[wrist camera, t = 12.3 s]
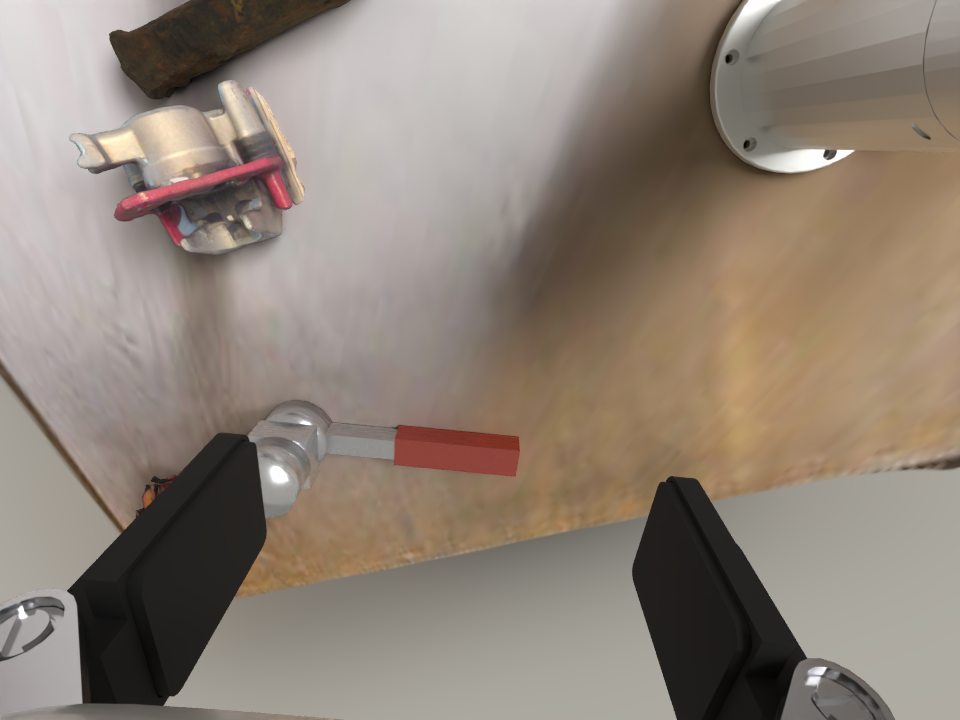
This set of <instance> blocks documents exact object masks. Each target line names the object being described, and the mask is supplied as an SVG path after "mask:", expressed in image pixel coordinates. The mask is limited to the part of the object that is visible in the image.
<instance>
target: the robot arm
mask: <svg viewBox="0 0 960 720" xmlns="http://www.w3.org/2000/svg"><path fill="white" fill-rule="evenodd" d="M726 55H728V56H729V58H730V60H729V62H728V63H727V64H726V62H725V56H726ZM710 105H711V110H712V114H713V118H714V123H715V125H716V127H717V129H718V132H719V134H720V136H721V138H722V140H723V141H724V142H725V144H726V145H727V146H728V147H729V149H730V150H731V151H732V152H733V153H734V154H735V155H736V156H738V157H739V158H740V159H741V160H743V161H744V162H745V163H748V164H750V165H752V166H754V167H756V168H758V169H762V170H766V171H771V172H777V173H789V174H790V173H801V172H809V171H813V170H816V169H820V168H823V167H827V166H829V165H831V164H833V163H835V162H837V161H839V160H841V159H844V158H845V157H847V156H848V155H850V154H851V153H853V152H854V151H856V150H862V151H901V152H941V153H960V0H743V1H742V2H741V4H740V5H739V7H738V8H737V10H736V11H735V13H734V14H733V16H732V17H731V19H730V20H729V22H728V24H727V26H726V29H725V31H724V33H723V35H722V37H721V39H720V41H719V44H718V47H717V51H716V54H715V57H714V61H713V64H712V72H711V79H710ZM745 141H746V142H747V146H746V147H745V148H743V144H744V142H745ZM824 151H825V154H824V155H823V153H824ZM266 533H267V531H266V521H265V513H264V504H263V496H262V487H261V479H260V471H259V462H258V454H257V447H256V444H255V443H254V442H250V440H249V438H248V436H246V435H241V434H231V433H218V434H217V435H216V436H215V437H214V438H213V439H212V440H211V441H210V442H209V443H208V444H207V445H206V446H205V447H204V448H203V450H202V451H201V452H200V453H199V454H198V455H197V456H196V457H195V458H194V459H193V460H192V461H191V462H190V463H189V464H188V465H187V466H186V467H185V469H184V470H183V471H182V472H181V473H180V474H179V475H178V476H177V477H176V478H175V479H174V480H173V481H172V482H171V483H170V484H169V485H168V487H167V488H166V489H165V490H164V491H162V492H161V493H160V494H159V495H158V496H157V497H156V498H155V499H154V500H153V501H152V502H151V503H150V504H149V505H148V506H147V507H146V508H145V509H144V510H143V511H142V513H141V514H140V515H139V516H138V517H137V518H136V519H135V520H134V521H133V522H132V523H131V524H130V525H129V526H128V527H127V528H126V529H125V530H124V531H123V533H122V534H121V535H120V536H119V537H118V538H117V539H116V540H115V541H114V542H113V543H112V544H111V545H110V546H109V547H108V548H107V549H106V550H105V551H104V553H103V554H102V555H101V556H100V557H99V558H98V559H97V560H96V561H95V562H94V563H93V564H92V565H91V566H90V567H89V568H88V569H87V570H86V572H85V573H84V574H83V575H82V576H81V577H80V578H79V579H78V580H77V581H76V582H75V583H74V584H73V585H72V586H71V587H70V588H69V589H68V590H67V591H65V590H59V589H42V590H36V591H32V592H29V593H25V594H21V595H18V596H16V597H14V598H12V599H9V600H7V601H5V602H3V603H1V604H0V720H340V719H326V718H315V717H302V716H291V715H279V714H265V713H254V712H242V711H230V710H217V709H201V708H186V707H170V706H164V704H165V702H166V701H167V699H168V697H169V696H175V695H176V694H178V693H179V692H180V690H181V689H182V687H183V686H184V684H185V682H186V680H187V679H188V677H189V675H190V673H191V671H192V670H193V668H194V666H195V664H196V663H197V661H198V659H199V657H200V656H201V654H202V652H203V651H204V649H205V647H206V645H207V644H208V642H209V640H210V638H211V636H212V635H213V633H214V631H215V629H216V628H217V626H218V624H219V623H220V621H221V619H222V617H223V616H224V614H225V612H226V610H227V608H228V607H229V605H230V603H231V602H232V600H233V598H234V596H235V595H236V593H237V591H238V589H239V587H240V586H241V584H242V582H243V580H244V579H245V577H246V575H247V573H248V572H249V570H250V568H251V566H252V565H253V563H254V561H255V559H256V558H257V556H258V554H259V552H260V551H261V549H262V547H263V545H264V542H265V539H266ZM632 576H633V581H634V585H635V588H636V591H637V594H638V597H639V601H640V604H641V607H642V610H643V613H644V616H645V619H646V623H647V626H648V629H649V632H650V635H651V638H652V642H653V645H654V648H655V651H656V654H657V658H658V661H659V664H660V667H661V670H662V673H663V677H664V680H665V683H666V686H667V689H668V692H669V696H670V699H671V702H672V705H673V708H674V711H675V715H676V718H677V720H895V718H894V716H893V714H892V712H891V711H890V709H889V707H888V706H887V705H886V703H885V702H884V701H883V699H882V698H881V697H880V696H879V694H877V692H876V691H874V690H873V689H872V688H871V687H870V686H869V685H868V684H867V683H866V682H865V681H864V680H862V679H861V678H860V677H858V676H857V675H855V674H854V673H853V672H851V671H850V670H848V669H846V668H844V667H842V666H840V665H838V664H836V663H834V662H831V661H827V660H824V659H820V658H818V659H817V658H815V659H814V658H808V659H807V657H806V656H805V654H804V652H803V651H802V649H801V647H800V646H799V644H798V642H797V641H796V639H795V638H794V636H793V634H792V632H791V631H790V629H789V627H788V626H787V624H786V623H785V621H784V619H783V618H782V616H781V614H780V613H779V611H778V610H777V608H776V606H775V604H774V603H773V601H772V599H771V598H770V596H769V595H768V593H767V591H766V589H765V588H764V586H763V584H762V583H761V581H760V580H759V578H758V576H757V575H756V573H755V571H754V570H753V568H752V566H751V565H750V563H749V561H748V560H747V558H746V556H745V555H744V553H743V551H742V550H741V549H740V547H739V546H738V545H737V544H736V543H735V541H734V539H733V538H732V536H731V534H730V533H729V531H728V530H727V528H726V526H725V525H724V523H723V521H722V520H721V518H720V516H719V515H718V513H717V511H716V510H715V508H714V506H713V505H712V503H711V501H710V500H709V498H708V496H707V495H706V493H705V491H704V490H703V488H702V486H701V485H700V483H699V482H698V480H696V479H694V478H684V477H674V476H671V477H669V478H668V479H667V480H666V482H660V484H659V485H658V488H657V491H656V494H655V497H654V501H653V504H652V507H651V510H650V513H649V516H648V520H647V523H646V526H645V529H644V532H643V535H642V538H641V541H640V545H639V547H638V551H637V554H636V557H635V560H634V563H633V568H632Z"/></svg>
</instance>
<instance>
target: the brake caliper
mask: <svg viewBox="0 0 960 720" xmlns="http://www.w3.org/2000/svg"><path fill="white" fill-rule="evenodd" d="M218 91H219V95H220V99H221V103H222V106H223V108H221V109H214V110H210V111H207V112H202V111H199V110H197V109H195V108H193V107H189V106H184V105H175V106H168V107H161V108H157V109H153V110H150V111H147V112H143V113H140V114H137V115H135V116H133V117H132V118H130V119H129V120H127V121H126V122H125V123H124V124H123V125H122V126H121V127H120V128H119V129H116V130H112V131H106V132H100V133H97V134H93V135H88V134H82V133H78V134H71V135H70V136H69V139H70V141H71V142H74V143H75V144H76V145H77V147H78V149H79V150H80V152H81V154H80V157H79V158H78V160H77V164H78V165H79V166H80V167H81V168H84V169H88V170H89V171H90V172H91V173H94V174H99V173H101V172H103V171H107V170H110V169H114V168H117V167H119V166H122V165H123V167H124V169H125V170H126V172H127V175H128V178H129V180H130V183H131V185H132V186H133V188H134V189H135V190H136V192H137V193H136V194H134V195H132V196H130V197H127V198H125V199H123V200H122V201H121V202H120V203H119V204H118V205H117V208H116V211H115V214H114V217H115V218H116V219H117V220H119V221H131V220H133V219H135V218H138V217H142V216H144V215H147V214H155V215H157V216H158V217H159V219H160V220H161V222H162V224H163V225H164V227H165V229H166V231H167V233H168V235H169V236H170V238H171V239H172V241H173V242H174V244H175V245H176V246H178V247H183V248H184V249H185V250H186V251H188V252H194V253H208V254H212V255H220V254H224V253H228V252H232V251H235V250H237V249H239V248H242V247H243V246H245V245H247V244H251V243H254V242H260V241H263V240H266V239H269V238H272V237H276V236H279V235H280V234H281V233H282V209H283V210H286V209H289V208H291V207H292V201H293V203H294V204H295V205H297V204H299V203H301V202H302V200H303V197H304V193H305V190H304V186H303V185H302V184H301V183H300V181H299V180H298V178H297V176H296V158H295V156H294V153H293V151H292V149H291V147H290V145H289V143H288V142H287V140H286V139H285V137H284V135H283V134H282V133H281V132H280V129H279V127H278V125H277V124H276V122H275V119H274V116H273V114H272V112H271V110H270V108H269V107H268V105H267V103H266V102H265V100H264V98H263V97H262V96H261V95H259V94H258V93H257V91H256V90H255V89H254V88H253V87H249V88H248V89H247V90H246V93H245V92H244V90H243V89H242V87H241V86H240V85H239V84H238V83H237V82H236V81H235V80H225V81H222V82H221V83H219V84H218Z"/></svg>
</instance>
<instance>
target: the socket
mask: <svg viewBox="0 0 960 720" xmlns="http://www.w3.org/2000/svg"><path fill="white" fill-rule="evenodd" d="M247 436H248V438H249V440H250V442H254V443H255V444H256V447H257V454H258V462H259V471H260V479H261V487H262V496H263V504H264V513H265V518H267V519H268V518H276V517H279V516H282V515H284V514H285V513H287V512H288V511H289V510H290V509H291V507H292V505H293V504H294V502H295V500H296V498H297V496H298V495H299V493H300V491H301V489H302V488H308V489H310V488H311V486H312V484H313V482H314V480H315V478H316V476H317V475H318V473H319V454H318V435H317V425H307V424H297V423H287V422H276V421H266V420H260V421H259V422H258V424H257V425H256V426H255V427H254V428H253V430H252V431H251V432H250V433H249V434H248V435H247Z"/></svg>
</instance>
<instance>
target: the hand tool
mask: <svg viewBox="0 0 960 720" xmlns="http://www.w3.org/2000/svg"><path fill="white" fill-rule="evenodd" d="M348 1H350V0H190V1H188V2H186V3H184V4H183V5H181V6H179V7H177V8H174V9H172V10H171V11H169V12H167V13H165V14H164V15H162V16H160V17H159V18H157V19H155V20H153V21H151V22H149V23H148V24H146V25H144V26H142V27H140V28H138V29H135V30H133V31H130V32H126V31H122V30H116V31H113V32H111V33H110V34H109V36H110V42H111V45H112V47H113V49H114V51H115V54H116V55H117V57H118V59H119V61H120V63H121V68H122V69H123V71H124V72H125V74H126V75H127V76H128V77H129V78H130V79H132V80H133V81H134V82H135V83H136V84H137V85H138V86H139V87H140V88H141V89H142V90H143V91H144V93H145V94H146V95H147V96H148V97H150V98H152V99H158V100H159V99H163V98H164V97H170V96H171V95H172V94H173V89H174V87H181V86H186V85H188V83H190V79H191V78H193V77H196V76H198V75H200V74H202V73H204V72H208V71H211V70H213V69H214V68H216V67H217V66H219V65H222V64H224V61H225V60H227V59H229V58H231V57H233V56H235V55H237V54H240V53H242V52H245V51H248V50H251V49H253V48H254V46H256V45H258V44H260V43H262V42H264V41H265V40H267V39H269V38H271V37H273V36H275V35H277V34H279V33H281V32H283V31H285V30H286V29H289V28H291V27H293V26H295V25H297V24H299V23H300V22H302V21H304V20H306V19H308V18H310V17H313V16H314V15H316V14H318V13H320V12H322V11H324V10H327V9H330V8H333V7H339V6H341V5H343V4H345V3H347V2H348Z"/></svg>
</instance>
